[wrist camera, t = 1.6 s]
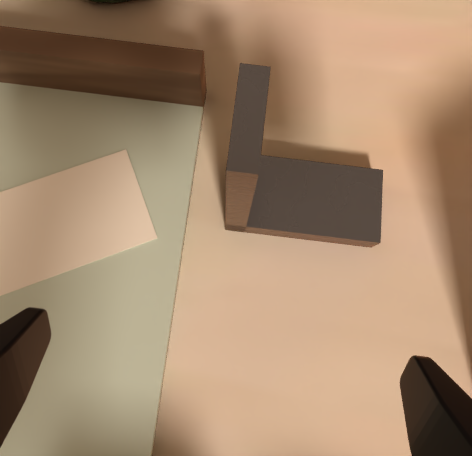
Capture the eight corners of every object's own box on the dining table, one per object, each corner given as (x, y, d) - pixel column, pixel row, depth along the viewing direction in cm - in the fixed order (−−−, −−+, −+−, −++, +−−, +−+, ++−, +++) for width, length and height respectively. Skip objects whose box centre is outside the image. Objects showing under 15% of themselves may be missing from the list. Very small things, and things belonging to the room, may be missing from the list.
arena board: (146, 494, 21) (143, 499, 20) (-231, 449, 21) (-244, 453, 20) (206, 90, 26) (206, 85, 26) (-93, 54, 26) (-101, 48, 26)
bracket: (370, 247, 24) (469, 200, 14) (225, 229, 24) (226, 170, 14) (373, 178, 25) (467, 90, 15) (234, 161, 25) (240, 63, 15)
